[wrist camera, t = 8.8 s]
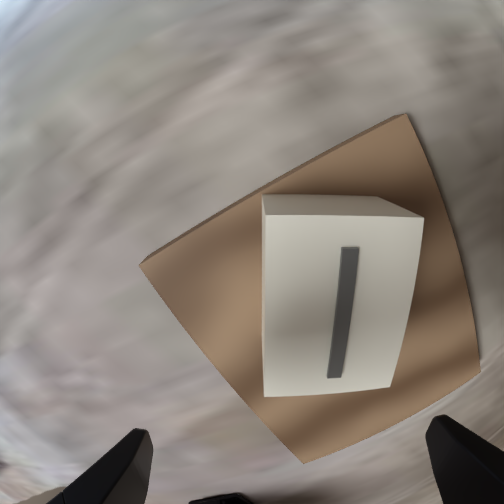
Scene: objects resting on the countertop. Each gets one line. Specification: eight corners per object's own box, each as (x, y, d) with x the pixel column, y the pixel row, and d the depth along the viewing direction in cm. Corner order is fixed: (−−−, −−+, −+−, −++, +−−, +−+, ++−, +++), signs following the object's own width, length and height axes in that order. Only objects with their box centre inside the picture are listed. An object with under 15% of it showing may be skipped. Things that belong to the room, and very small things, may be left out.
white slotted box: (377, 196, 15) (426, 219, 10) (361, 332, 18) (391, 389, 13) (261, 194, 15) (265, 216, 10) (261, 336, 18) (264, 399, 13)
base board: (472, 361, 21) (480, 372, 19) (301, 450, 23) (303, 463, 22) (394, 115, 15) (406, 113, 14) (147, 256, 18) (138, 265, 16)
